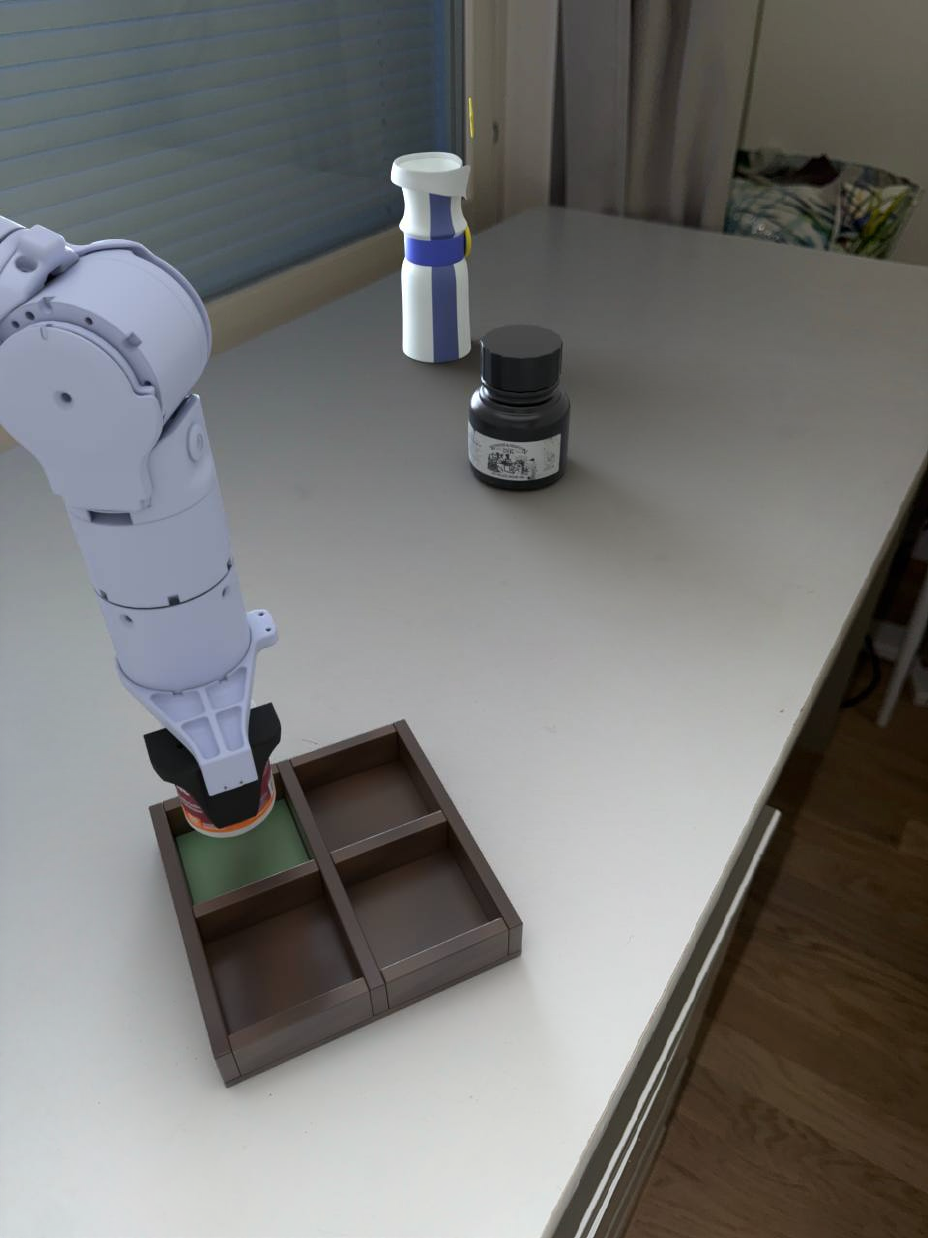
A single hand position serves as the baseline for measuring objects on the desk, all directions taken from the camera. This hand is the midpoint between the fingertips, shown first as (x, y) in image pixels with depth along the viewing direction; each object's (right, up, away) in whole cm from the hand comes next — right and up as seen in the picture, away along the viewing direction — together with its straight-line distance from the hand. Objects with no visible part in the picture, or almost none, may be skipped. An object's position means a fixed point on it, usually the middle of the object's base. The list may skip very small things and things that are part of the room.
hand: (223, 779), depth 47 cm
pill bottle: (0, -2, +1) cm, 2 cm away
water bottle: (+9, +39, +57) cm, 70 cm away
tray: (+5, -7, +3) cm, 9 cm away
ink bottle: (+17, +22, +37) cm, 47 cm away
